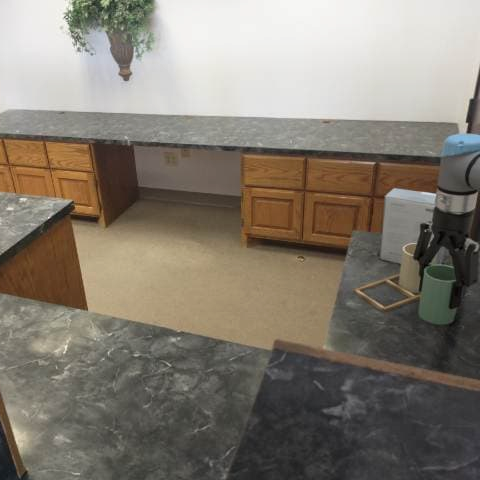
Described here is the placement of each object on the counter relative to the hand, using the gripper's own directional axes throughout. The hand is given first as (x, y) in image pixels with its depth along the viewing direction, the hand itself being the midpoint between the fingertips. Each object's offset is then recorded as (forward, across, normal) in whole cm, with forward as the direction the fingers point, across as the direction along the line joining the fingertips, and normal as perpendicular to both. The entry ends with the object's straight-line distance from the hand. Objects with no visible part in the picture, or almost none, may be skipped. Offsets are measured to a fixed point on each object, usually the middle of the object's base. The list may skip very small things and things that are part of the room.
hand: (438, 298), depth 118 cm
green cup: (+5, 0, 0) cm, 5 cm away
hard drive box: (+7, -24, +17) cm, 30 cm away
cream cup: (+6, -12, +6) cm, 15 cm away
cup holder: (+6, -12, +1) cm, 14 cm away
